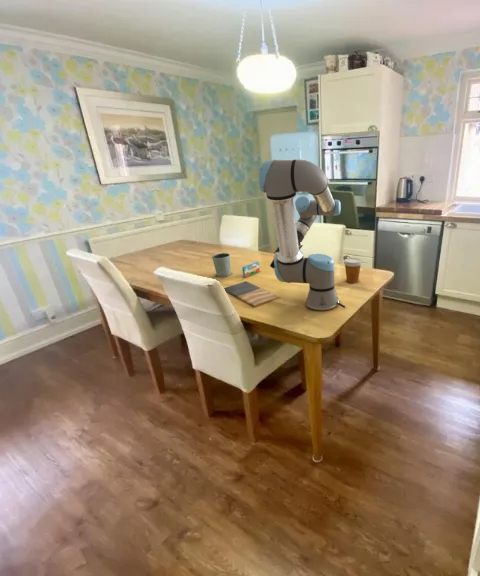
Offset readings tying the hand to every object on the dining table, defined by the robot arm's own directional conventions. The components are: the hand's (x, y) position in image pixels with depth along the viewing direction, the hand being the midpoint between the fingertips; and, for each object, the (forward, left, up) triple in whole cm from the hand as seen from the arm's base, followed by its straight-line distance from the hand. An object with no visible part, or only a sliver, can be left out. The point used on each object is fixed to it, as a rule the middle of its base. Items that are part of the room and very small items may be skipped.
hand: (276, 269), depth 164 cm
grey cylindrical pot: (+43, +8, -12) cm, 45 cm away
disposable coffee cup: (-21, -36, -12) cm, 43 cm away
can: (0, -3, -4) cm, 6 cm away
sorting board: (+6, +13, -11) cm, 19 cm away
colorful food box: (+31, -4, -12) cm, 33 cm away
